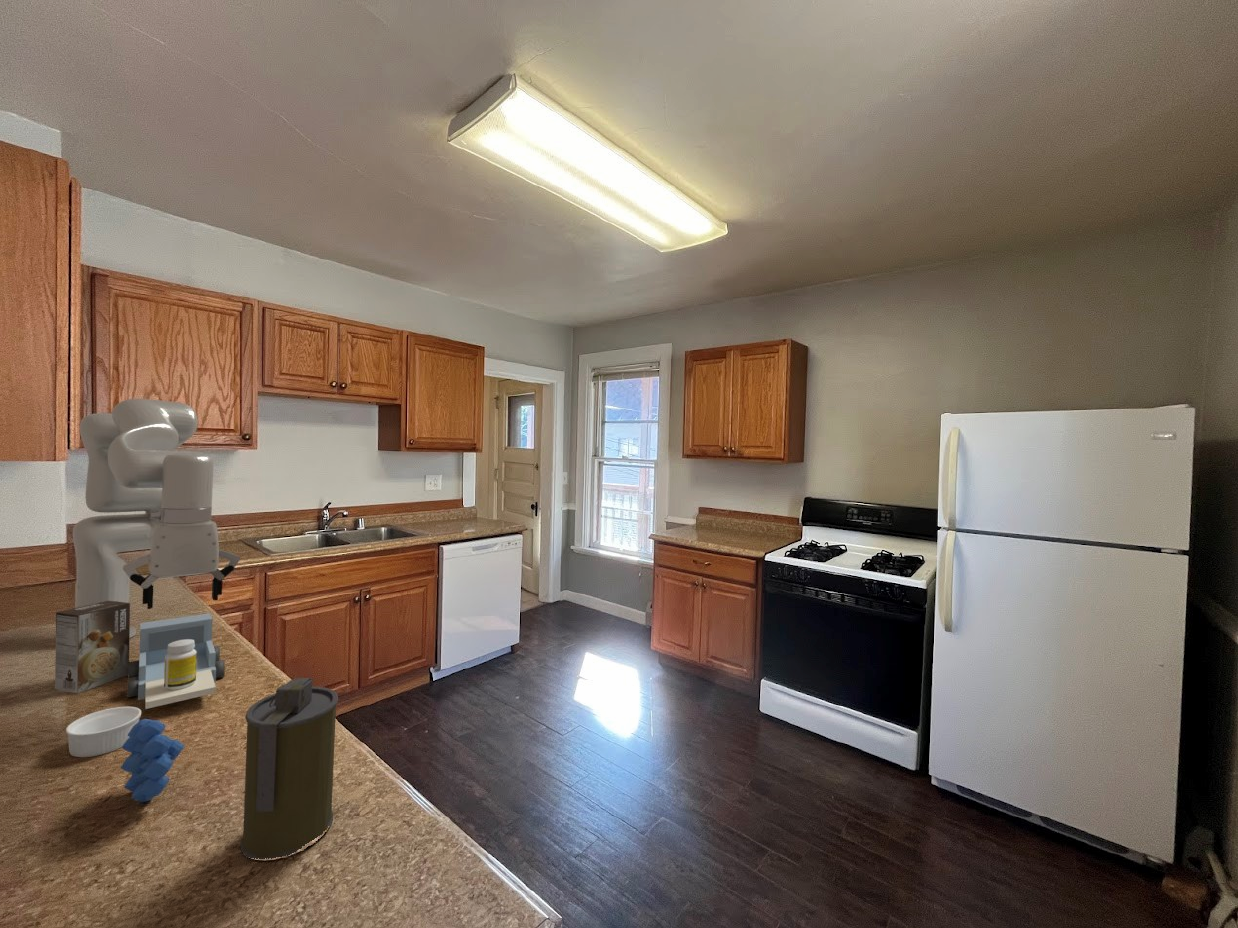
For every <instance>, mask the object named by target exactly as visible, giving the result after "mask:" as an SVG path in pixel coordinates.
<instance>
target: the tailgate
mask: <svg viewBox="0 0 1238 928" xmlns="http://www.w3.org/2000/svg"><path fill="white" fill-rule="evenodd" d="M144 688H145V708H144V709H145V710H147V709H151V708H156V707H161V706H164V705H169V704H173V703H177V702H182V701H187V700H191V699H194V698H199V697H203V696H207V695H208V696H209V695H213V694H216V689H217V687H216V683H214V679H213V676H212V669H209V670H205V671H200V672H196V682H195V683H194V684H192V685H191V686H188V687H185V688H182V689H177V690H167V689H165V688H164V679H160V680H155V681H150V682H146V683H144Z"/></svg>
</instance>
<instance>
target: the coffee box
mask: <svg viewBox="0 0 1238 928" xmlns="http://www.w3.org/2000/svg"><path fill="white" fill-rule="evenodd" d="M130 619H131V603H130V602H129V603H125V602H118V601H104V602H100V603H95V604H91V605H86V606H82V607H78V608H76V607H74V608H69V609H65V610H61V611H56V612H55V661H54V662H55V663H54V664H55V667H54V673H55V674H54V675H55V676H54V689H55V690H56V691H61V692H67V693H72V694H80V693H83V692H85V691H88V690H90V689H94V688H96V687H100V686H102V685H104V684H108V683H110V682H113V681H116V680H118V679H120V678H125V677H127V676H128V672H129V662H130V639H131V638H130V637H129V636H130V627H131V625H130V624H131V623H130V621H131V620H130Z"/></svg>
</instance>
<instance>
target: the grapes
mask: <svg viewBox="0 0 1238 928" xmlns="http://www.w3.org/2000/svg"><path fill="white" fill-rule="evenodd" d="M166 727H167V725H166V724H165V723H164V722H162V721H160V720H157V719H156V720H155V719H147V718H142V719H139V722H138V723H137V724H135V725H134V726H133V728H132V729H131V730H130V732H129V733H128V736H129V738H128V739H127V740H126V742H125V743H124V745H123V746H122V748H121V749H123V750H124V751H126V752H128V753H131V754H130V755H129V756H127V757H126V759H125V760H124V761H123V763H122V765H121V766H120V769H121V770H123V771H124V772H126V773H131V774H130V775H131V776H130V777H129V779H128V780H127V782H126V783H125V785H124V786H123V788H124V789H126V790H128V791H129V792H132V795H131V798H132V799H133V800H135V801H137V802H140V803H147V802H150V801H152V799H153V798H154V797H157V796H159V795H160V794H161V793H162V792H163V791H164V790H165V788H166V787H167V785H168V783H169V781H170V779H171V778H169V777H168V776H167V774H168V773H169V771H170V770H171V768H172V766H173V764H174V763H175V761H174V760H176V759H177V757H179V755H180V754H181V752H182V751H183V749H184V747H185V746H186V745H185V744H184V743H182V742H181V741H179V740H175V739H172V738H170V737H169V736H167V735H165V734H164V735H163V734H162V733H163V732H164V731H165V729H166Z"/></svg>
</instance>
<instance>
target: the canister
mask: <svg viewBox="0 0 1238 928" xmlns="http://www.w3.org/2000/svg"><path fill="white" fill-rule="evenodd" d="M313 681H314V678H313V677H294V678H293V679H291V680H289V681H287V683H285V684H281V685H280V686H279V687H277V689H276V692H275V693H273V694H270V695H268V696H265V697H263V698H261V699H260V700H258V701H256V702H254V703H253V704H252V705H251V706H250V707H249V708H248V709H247V711H246V713H245V720H246V724H247V725H246V750H245V776H244V777H245V778H244V779H245V781H244V803H243V805H244V806H243V809H244V810H243V828H242V829H243V830H242V831H243V833H242V834H243V835H242V839H241V842H240V850H241V853H242V852H243V853H242V854H243V855H244V854H245V855H246V856H247V857H250V858H254V859H255V858H256V859H258V858H259V859H265V858H266V859H267V858H268V859H269V858H271V859H272V858H276V857H282V856H286V855H287V856H288V855H290V854H292V853H294V852H296V851H297V850H298V849H301V848H302V846H305V844H307V843H309V842H310V841H312V840H314V839H315V838H317V837H318V836H320V835H322V834H323V831H325V830H327V828H328V826H332V824H333V822H334V811H333V809H332V807H333V786H334V783H333V782H334V767H335V766H334V764H335V763H334V761H335V760H334V759H335V740H336V739H335V738H336V717H337V716H336V715H337V703H338V702H339V695H338V694H337V692H336V691H335V690H333V689H330V688H327V687H325V686H313ZM332 821H333V822H332ZM245 855H244V856H245ZM247 857H246V858H247Z"/></svg>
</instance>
